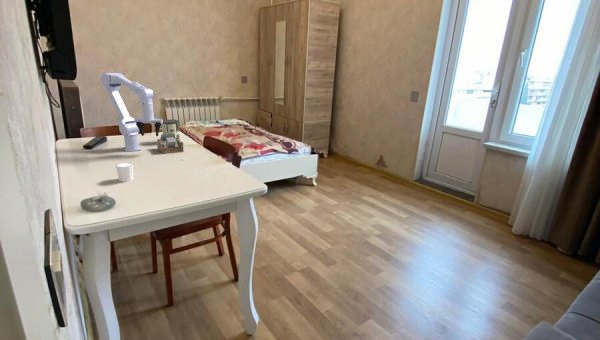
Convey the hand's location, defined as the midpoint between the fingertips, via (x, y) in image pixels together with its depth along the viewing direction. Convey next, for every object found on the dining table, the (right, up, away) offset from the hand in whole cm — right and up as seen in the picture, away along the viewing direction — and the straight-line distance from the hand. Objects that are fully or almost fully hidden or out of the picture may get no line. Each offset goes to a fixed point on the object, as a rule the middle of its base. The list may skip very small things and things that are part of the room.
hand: (150, 135), depth 181 cm
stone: (+7, -5, +10) cm, 13 cm away
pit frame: (+7, -8, +11) cm, 15 cm away
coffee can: (+1, -2, +28) cm, 29 cm away
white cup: (+6, -24, -36) cm, 43 cm away
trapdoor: (+6, -3, +12) cm, 14 cm away
